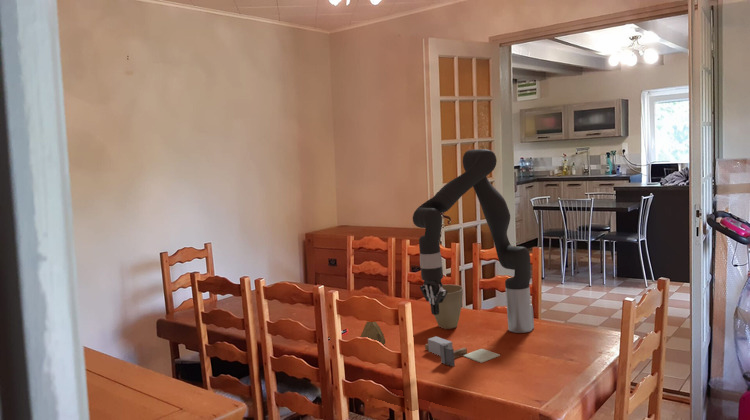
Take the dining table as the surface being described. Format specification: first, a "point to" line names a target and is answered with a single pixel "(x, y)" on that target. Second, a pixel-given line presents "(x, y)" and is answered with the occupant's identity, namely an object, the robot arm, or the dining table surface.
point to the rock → (373, 332)
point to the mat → (481, 355)
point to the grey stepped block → (447, 354)
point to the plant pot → (450, 307)
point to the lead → (437, 344)
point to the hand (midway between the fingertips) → (435, 314)
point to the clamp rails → (456, 353)
